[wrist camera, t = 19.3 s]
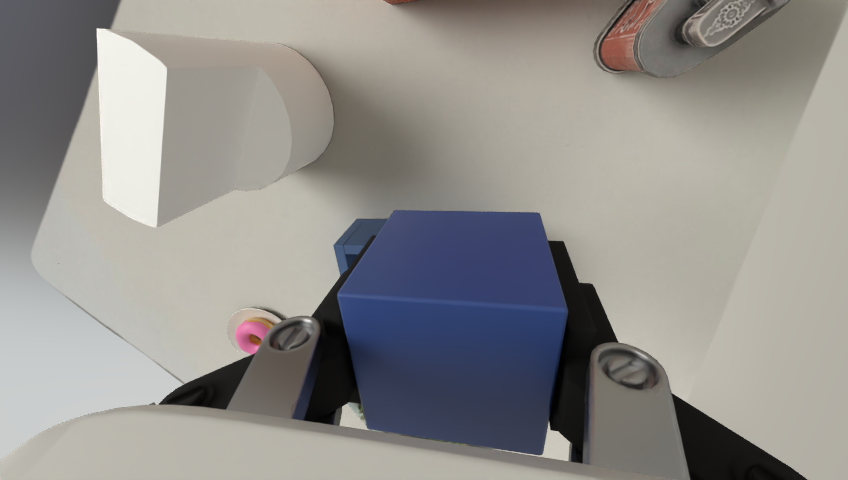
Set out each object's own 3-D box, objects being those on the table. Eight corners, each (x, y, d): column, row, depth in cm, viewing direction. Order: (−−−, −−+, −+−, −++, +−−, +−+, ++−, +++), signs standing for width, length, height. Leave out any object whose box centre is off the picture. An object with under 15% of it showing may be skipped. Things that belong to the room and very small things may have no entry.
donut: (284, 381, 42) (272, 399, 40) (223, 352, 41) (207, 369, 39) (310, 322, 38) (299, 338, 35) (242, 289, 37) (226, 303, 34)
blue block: (540, 211, 10) (569, 310, 6) (527, 327, 12) (543, 457, 8) (393, 209, 11) (334, 293, 7) (405, 317, 13) (366, 430, 9)
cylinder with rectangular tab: (236, 15, 23) (23, -22, 13) (350, 83, 24) (236, 99, 13) (217, 132, 28) (49, 175, 17) (314, 186, 28) (208, 258, 18)
